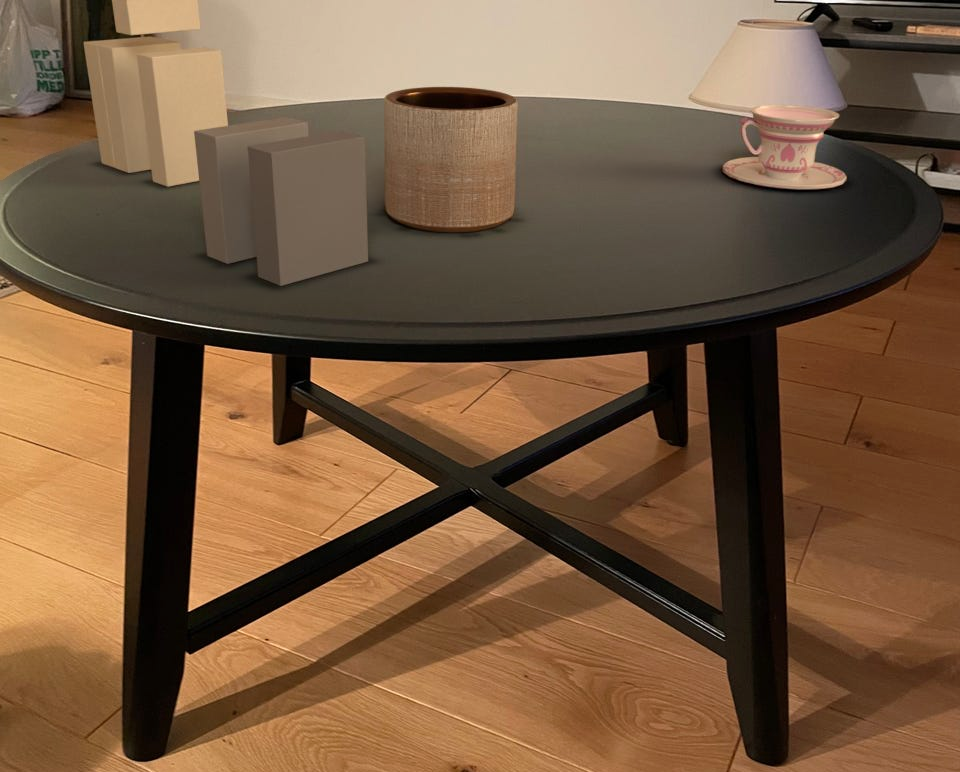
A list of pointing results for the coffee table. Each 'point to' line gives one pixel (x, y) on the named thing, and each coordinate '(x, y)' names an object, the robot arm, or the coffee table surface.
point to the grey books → (283, 197)
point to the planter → (450, 158)
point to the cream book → (155, 16)
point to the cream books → (154, 104)
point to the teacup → (786, 149)
